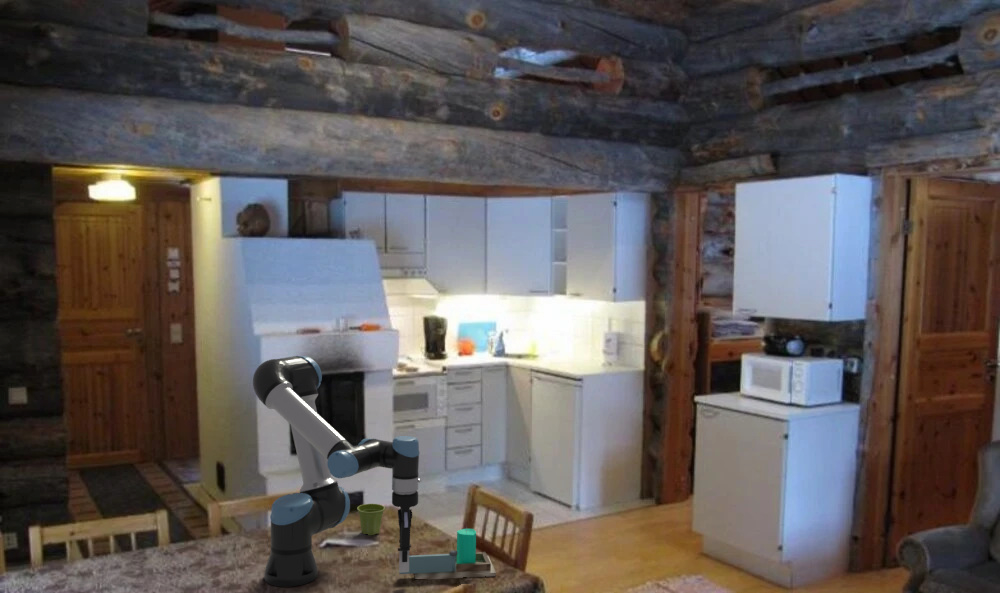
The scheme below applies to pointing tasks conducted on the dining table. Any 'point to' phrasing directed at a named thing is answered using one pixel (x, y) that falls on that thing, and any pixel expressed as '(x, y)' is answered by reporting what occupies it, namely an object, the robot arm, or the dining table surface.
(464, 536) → the candle
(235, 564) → the dining table surface
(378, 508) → the plant pot
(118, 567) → the dining table surface
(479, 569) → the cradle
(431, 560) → the keeper
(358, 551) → the dining table surface
